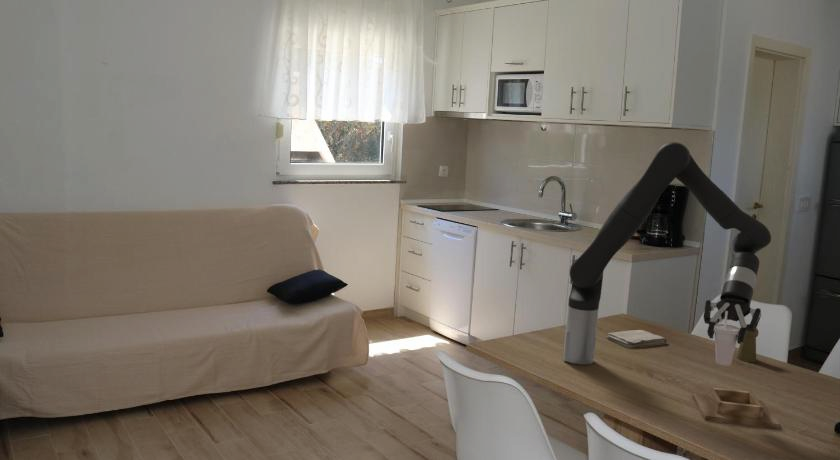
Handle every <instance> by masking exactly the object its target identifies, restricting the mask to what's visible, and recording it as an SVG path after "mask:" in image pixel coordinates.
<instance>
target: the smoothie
mask: <svg viewBox="0 0 840 460" xmlns="http://www.w3.org/2000/svg"><path fill="white" fill-rule="evenodd" d="M727 314H728V311H725V319H724V320H723V321H724V323H718V324H717V325H715V326H714V331H715V332H714V339H715V340H714V343H715V345H714V347H715V348H714V349H715V363H716V364H718V365H719V366H720V365H721V366H726V367H727V366H728V367H729V366H731V365H732V361H733V359H734V354H735V349H736V346H737V343H738V342H737V338H738V334H739V330H740V327H738V326H736V325H731V324H727V322H728V321H727Z"/></svg>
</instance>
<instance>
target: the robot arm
mask: <svg viewBox="0 0 840 460" xmlns="http://www.w3.org/2000/svg"><path fill="white" fill-rule="evenodd" d="M675 179H677V180H678V181H679V182H680V183H682V184H683V185H684V186H685V187H686V189H687V190H689V191H690V192H691V194H692V195H693V196H694V197H695V199H696V200H697V201H698V203H699V204H700V205H701V206H702V208H703V209H704V210H705V211H706V213H707V214H708V215H710V217H711V218H712V219H713V220H714V222H716V223H717V224H718V225H719V227H721V228H722V229H723V230H731V229H735V230H737V231H739V232H738V233H737V234H736V235H735V236H734V237H733V240H732V243H731V261H730V265H729V269H728V271H727V275H726V276H725V279H724V283H723V287H722V291H721V293H720V296H719V297H720V298H719V300H718V301H717V302H714V301H713V302H711V300H709V299H706V301H705V304H704V305H705V306H704V313H703V321H704V323H705V324H707V325H708V327H707V331H706V332H707V336H708V337H709V339H714V337H715V331H714V326H715V325H717V324H720V323H722V322H723V321H725V311H728V314H727V320H728V321H733V322H738V323H739V326H740V327H739V329H740V330H739V334H738V338H737V342H736V343H737V344H738V345H740V344H741V342H744V340H745V336H746V333H747V332H748V331H751V332H754V331H755V330H756V328H757V327H758V324H759V322H760V319H761V318H762V310H761V308H758V307H757V308H756V309H755V308H751V304H752V303H751V302H752V299H753V295H754V292H755V289H756V283H757V281H756V280H757V276H758V271H759V267H760V260H759V257H758V256H757V255H756V253H758V252H759V251H761V250H762V249H764V248H766V247H767V246H768V245H769V244H770V243H771V240H772V236H771V232H770V230H769V228H768V227H767V226H766V225H765V224H764V223H762V222H760V221H759V220H757V219H756V218H755V217H753V216H751V215H750V214H748V213H746V212H745V211H743V210H742V209H740V207H739V206H738V205H737V204H736V203H735V202H734V201H733V199H731V198H730V197H729V196H728V195H727V194H726V193H725V192H724V191H723V190H722V189H721V188H720V187H719V186H717V184H716V183H714V182H713V181H712V180H711V179H710V178H709V176H707V174H706V173H705V172H704V171H703V170H702V169H701V167H699V165H698V164H697V162H696V161H695V159H694V157H693V156H692V154H691V153H690V150H689V148H687V146H686V145H684V144H682V143H680V142H677V141H676V142H675V141H670V142H667V143H665V144H663V145H662V146H660V147H659V148H658V149H657V151H656V153H655V155H654V157H653V159H652V160H651V162H650V164H649V166H648V167H647V169H646V170H645V171H644V173H643V174H642V176H641V177H640V179H639V180H638V181H637V182H636V183H635V184H634V185H633V186H632V187H631V188H629V190H628V192H626V194H625V195H624V196H623V197H622V198H621V200H620V201H619V202H618V203H617V205H616V206H615V207H614V209H613V210H612V211H611V212H610V214H609V215H608V217H607V218H606V220H605V221H604V224H603V225H602V226H601V228H600V230H599V231H598V233H597V235H596V237H595V238H594V239H593V241H592V242H591V244H590V245H589V246H588V247H587V248H586V250H585V251H584V252H582V254H581V255H580V256H579V257H578V258H577V259H576V260H575V261H573V262H572V264H571V265H570V267H569V277H570V280H571V289H570V291H569V292H570V293H569V297H568V302H567V303H568V305H567V317H566V326H565V333H564V343H563V345H564V346H563V355H562V356H563V362H566V361H567V363H570V364H574V365H581V366H582V365H586V366H587V365H591V364H594V361H595V360H594V358H595V349H596V341H597V340H596V338H597V328H598V319H599V307H600V300H601V295H602V289H603V288H602V287H603V278H604V271H605V269H606V267H607V265H609V263H610V261H611V260H612V259H613V257H614V256H615V255H616V254H617V253H618V251H620V250H621V249H622V248H623V247H624V246H625V245H626V244H627V243H628V242H629V240H630V241H631V239H632V238H633V236H634V235H635V234H636V233H637V232H638V230H639V229H640V228H641V227H642V226H643V225H644V223H645V222H646V220H647V219H648V218H649V216H650V215H651V213H652V211H653V209H654V207H655V206H656V205H657V203H658V201H659V198H661V196H662V194H663V192H664V191H665V190H666V188H668V187H669V185H670V184H671V183H672V182H673V181H674V180H675ZM715 309H717V311H716V312H715V313H714V314H713V316H712V317H711V313H712V311H714V310H715ZM749 314H751V315H750V316H751V317H752V318H751V321H750V322H749V324H748V323H746V319H745V317H747V316H748V315H749Z"/></svg>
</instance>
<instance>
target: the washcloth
mask: <svg viewBox="0 0 840 460" xmlns="http://www.w3.org/2000/svg"><path fill="white" fill-rule="evenodd" d="M606 336H607V337H606V338H607V339H606V340H608V341H611V342H612V341H613V343H614V342H615V344H617V343H618V344H617V345H620V346H621V347H624V348H626V349H630V348H631V349H634V348H635V349H636V348H644V347H652V346H659V345H665V344H667V342H668V339H667V338H665V337H664V336H661V335H658V334H653V333H651V332H649V331H648V330H643V329H636V330H623V331H622V330H621V331H616V332H615V331H614V332H608V333H606Z"/></svg>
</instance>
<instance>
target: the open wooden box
mask: <svg viewBox="0 0 840 460" xmlns="http://www.w3.org/2000/svg"><path fill="white" fill-rule="evenodd" d="M691 396H692V400H693V401H694V403H695V405H696V407H697V408H698V410H699V412H700V414H701V416H702V418H703V419H704V421H709V422H717V423H718V422H719V423H726V424H734V425H735V424H736V425H742V426H743V425H744V426H752V427H753V426H754V427H761V428H771V429H777V430H778V429H780V427H781V424H780V422H779V421H778V419H776V417H775V416H774V415H773V413H772V412H771V411H770V409H769V408H768V407H767V406H766V405H765V403H764V402H763V401H762V400H759V399H758V397H756V395H755V394H754V393H753V392H752V391H747V390H746V391H745V390H737V389H728V388H727V389H726V388H720V387H719V388H718V387H708V394H704V393H695V392H692V395H691Z"/></svg>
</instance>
